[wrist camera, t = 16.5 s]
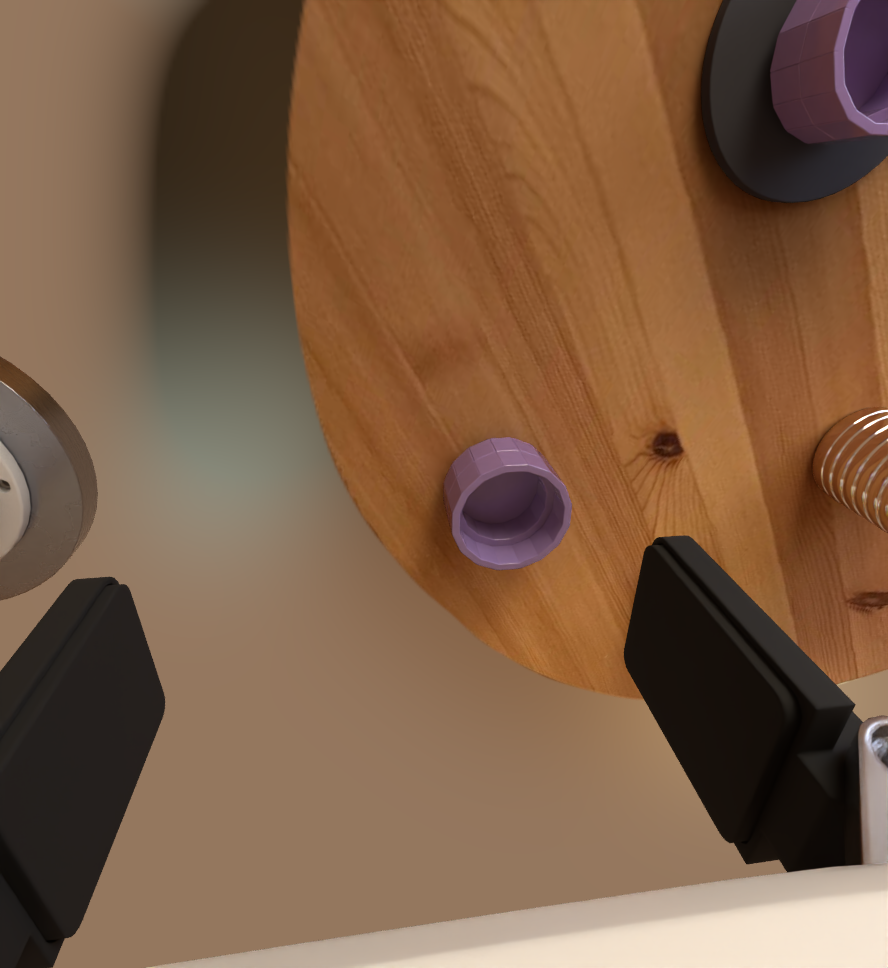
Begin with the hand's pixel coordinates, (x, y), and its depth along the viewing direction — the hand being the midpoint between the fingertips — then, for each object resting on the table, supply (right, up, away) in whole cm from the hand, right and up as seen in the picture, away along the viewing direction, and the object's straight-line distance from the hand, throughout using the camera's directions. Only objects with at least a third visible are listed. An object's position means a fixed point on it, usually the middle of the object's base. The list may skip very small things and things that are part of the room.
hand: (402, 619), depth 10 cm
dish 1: (+4, +3, +25) cm, 25 cm away
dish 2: (+19, +23, +16) cm, 33 cm away
